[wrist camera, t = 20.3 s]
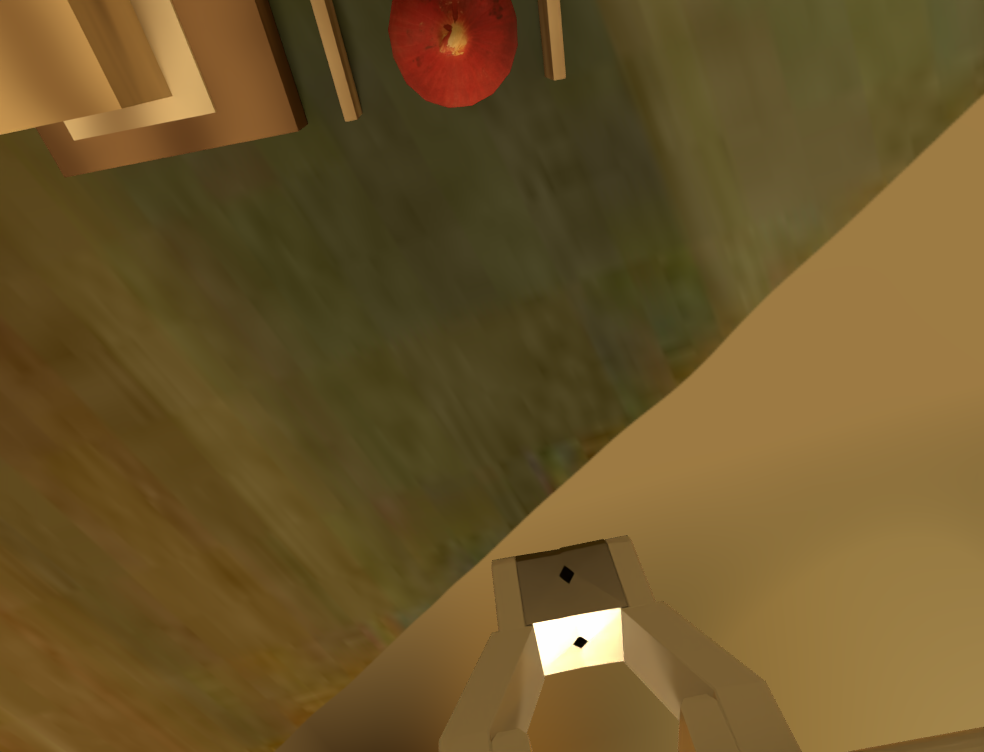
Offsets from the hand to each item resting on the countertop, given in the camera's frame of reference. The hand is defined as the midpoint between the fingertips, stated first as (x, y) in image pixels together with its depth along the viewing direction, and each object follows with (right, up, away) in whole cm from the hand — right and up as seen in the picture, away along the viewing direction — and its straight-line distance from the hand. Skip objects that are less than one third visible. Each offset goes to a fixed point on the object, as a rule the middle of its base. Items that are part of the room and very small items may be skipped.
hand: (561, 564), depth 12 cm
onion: (-4, +22, +16) cm, 27 cm away
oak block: (-20, +19, +12) cm, 30 cm away
